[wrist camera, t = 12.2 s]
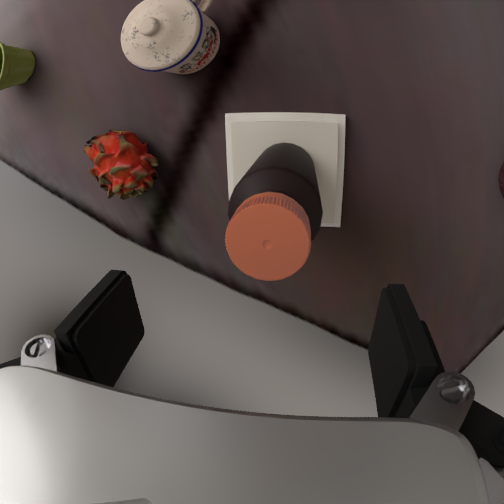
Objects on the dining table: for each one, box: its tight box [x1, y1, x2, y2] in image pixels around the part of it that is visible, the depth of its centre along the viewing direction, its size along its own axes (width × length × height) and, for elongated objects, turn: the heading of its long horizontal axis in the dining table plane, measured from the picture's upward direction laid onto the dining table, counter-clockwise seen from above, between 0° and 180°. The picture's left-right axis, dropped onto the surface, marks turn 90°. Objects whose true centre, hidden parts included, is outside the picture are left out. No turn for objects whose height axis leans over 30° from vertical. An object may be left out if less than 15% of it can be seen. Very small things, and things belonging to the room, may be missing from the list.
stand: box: [225, 112, 345, 227], centre depth 37 cm, size 14×14×3 cm
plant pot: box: [0, 42, 35, 90], centre depth 31 cm, size 9×9×9 cm
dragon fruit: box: [84, 130, 159, 200], centre depth 37 cm, size 8×8×12 cm
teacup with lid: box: [121, 0, 220, 74], centre depth 27 cm, size 12×9×12 cm
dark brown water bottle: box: [225, 142, 323, 281], centre depth 27 cm, size 7×7×20 cm
